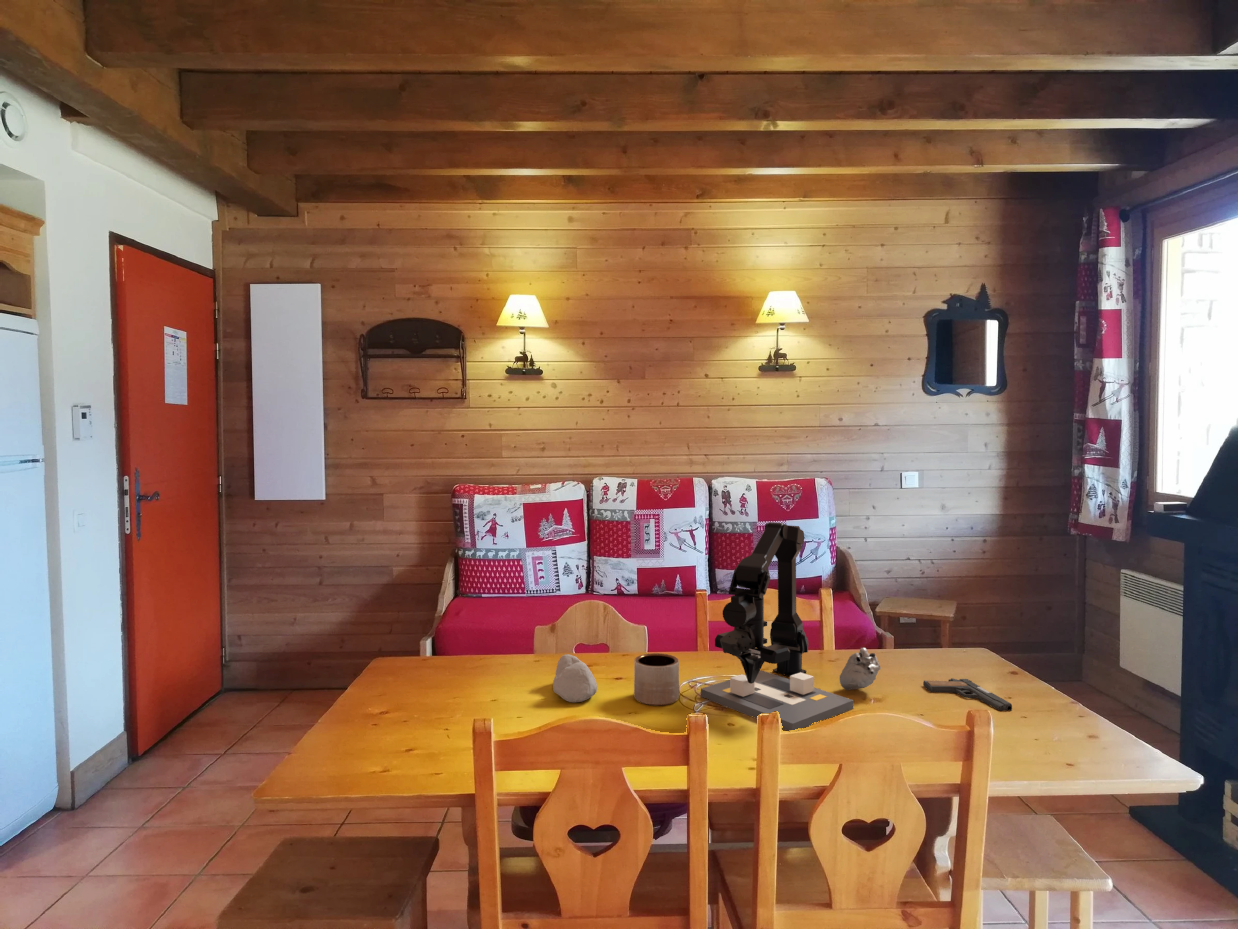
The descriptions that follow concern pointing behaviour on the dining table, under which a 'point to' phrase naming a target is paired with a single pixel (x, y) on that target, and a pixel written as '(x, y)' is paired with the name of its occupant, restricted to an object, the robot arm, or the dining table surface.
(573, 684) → the decorative stone
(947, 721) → the dining table surface
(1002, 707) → the handgun
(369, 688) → the dining table surface
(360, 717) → the dining table surface
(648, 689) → the planter
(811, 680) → the peach cube
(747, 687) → the block
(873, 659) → the heart
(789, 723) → the switch board
